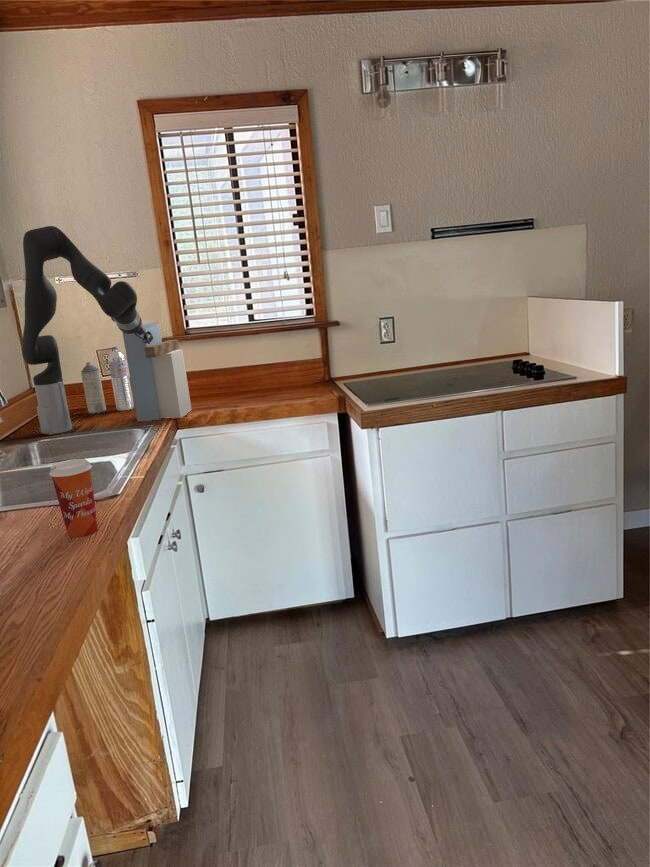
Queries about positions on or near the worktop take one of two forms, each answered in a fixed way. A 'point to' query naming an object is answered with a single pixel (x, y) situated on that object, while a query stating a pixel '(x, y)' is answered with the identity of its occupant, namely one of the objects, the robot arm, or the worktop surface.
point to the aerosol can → (93, 389)
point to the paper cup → (75, 496)
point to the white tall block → (171, 384)
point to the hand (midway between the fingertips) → (135, 333)
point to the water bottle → (120, 380)
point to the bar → (161, 348)
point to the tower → (143, 373)
